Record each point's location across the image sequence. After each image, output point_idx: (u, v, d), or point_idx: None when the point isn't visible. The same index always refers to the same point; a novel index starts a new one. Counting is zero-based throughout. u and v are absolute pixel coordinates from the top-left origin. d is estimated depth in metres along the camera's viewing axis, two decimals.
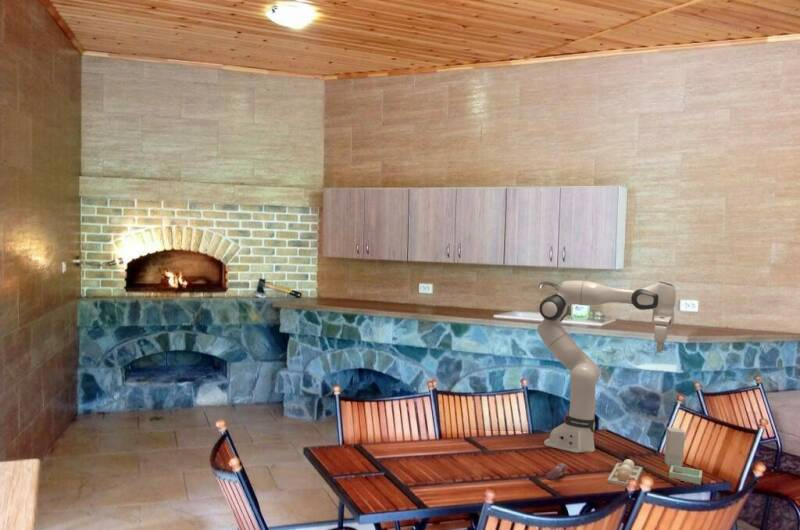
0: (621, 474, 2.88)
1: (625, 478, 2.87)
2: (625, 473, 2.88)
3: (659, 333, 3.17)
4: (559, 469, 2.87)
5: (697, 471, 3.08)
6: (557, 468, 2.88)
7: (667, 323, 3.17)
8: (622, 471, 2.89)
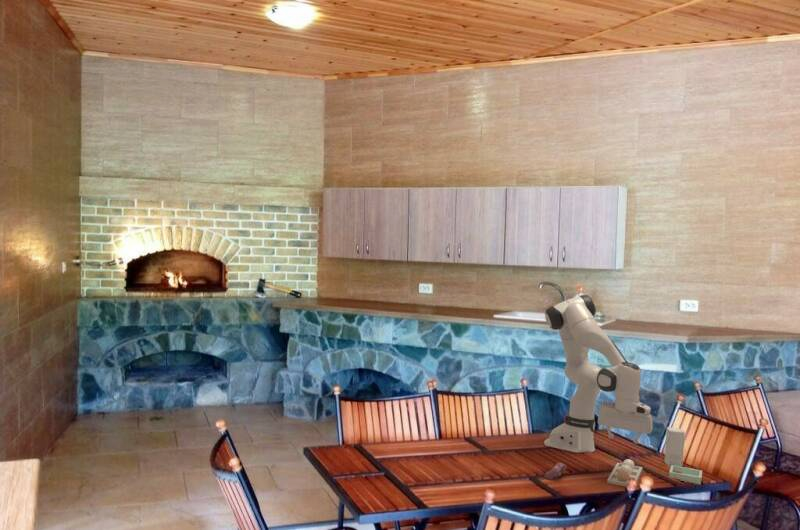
0: (621, 474, 2.88)
1: (625, 478, 2.87)
2: (625, 473, 2.88)
3: (651, 423, 2.85)
4: (558, 469, 2.87)
5: (697, 471, 3.08)
6: (556, 468, 2.88)
7: None
8: (622, 471, 2.89)
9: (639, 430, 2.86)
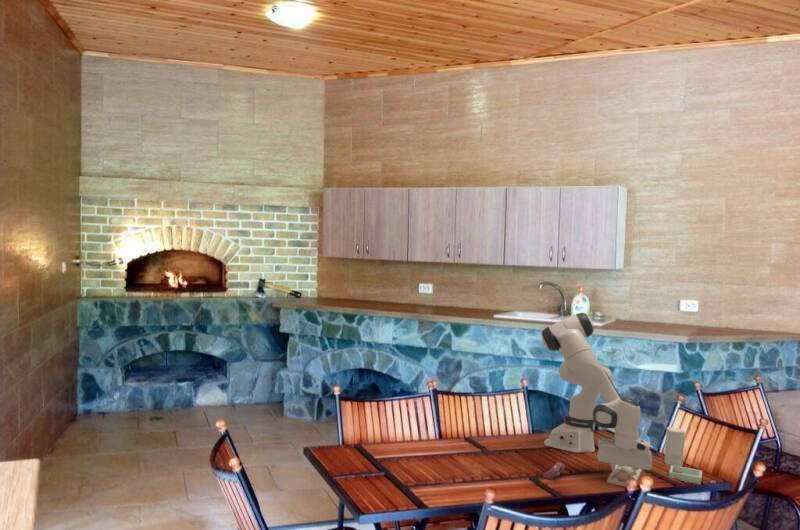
0: (621, 474, 2.88)
1: (625, 478, 2.87)
2: (625, 473, 2.88)
3: (651, 459, 2.85)
4: (556, 468, 2.88)
5: (697, 471, 3.08)
6: (554, 467, 2.88)
7: None
8: (622, 471, 2.89)
9: (639, 467, 2.85)
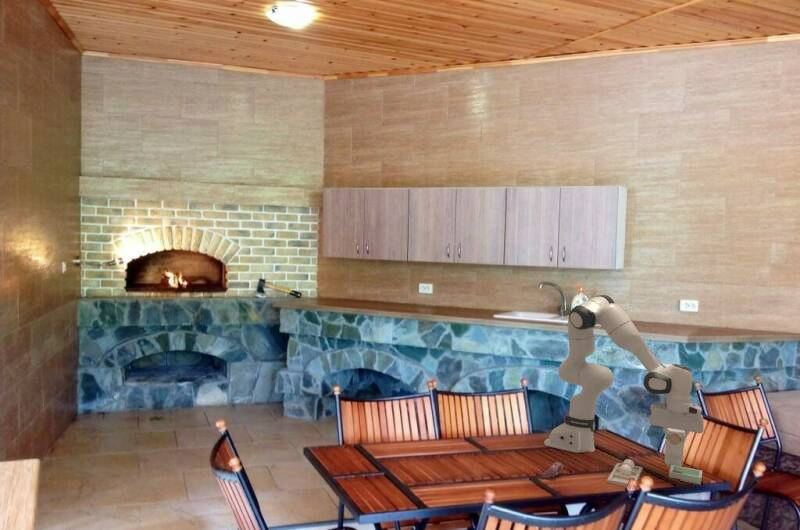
0: (673, 437, 2.99)
1: (678, 441, 2.98)
2: (677, 436, 2.99)
3: (703, 423, 2.96)
4: (555, 468, 2.88)
5: (697, 471, 3.08)
6: (553, 467, 2.88)
7: None
8: (674, 434, 3.00)
9: (691, 430, 2.96)
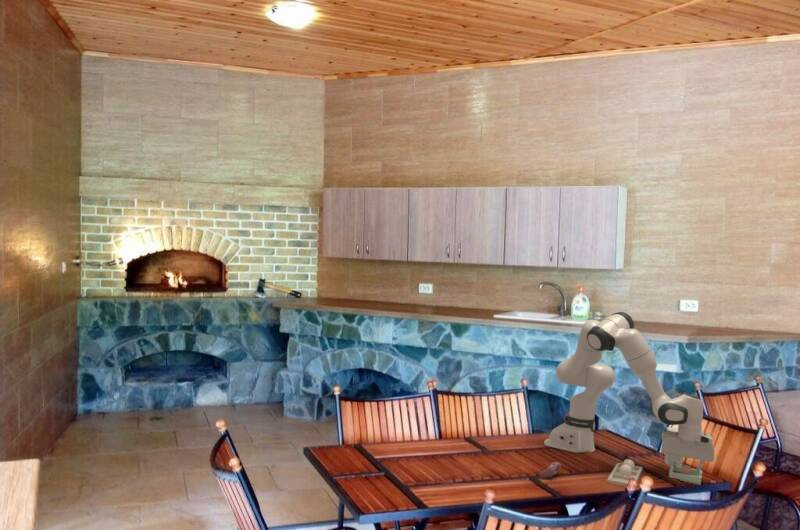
0: (685, 469, 3.03)
1: (689, 474, 3.02)
2: (689, 469, 3.03)
3: None
4: (553, 468, 2.88)
5: (697, 471, 3.08)
6: (551, 467, 2.89)
7: None
8: (686, 466, 3.04)
9: (702, 458, 3.01)
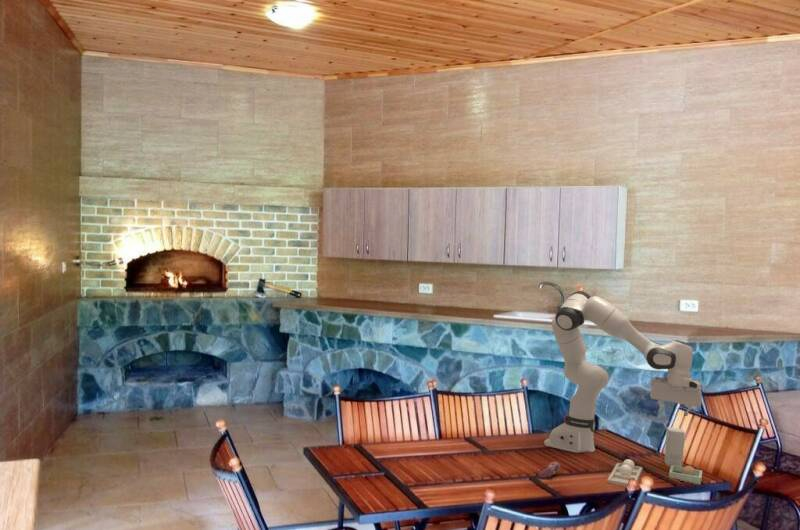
0: (689, 470, 3.02)
1: None
2: (692, 470, 3.02)
3: None
4: (552, 468, 2.88)
5: (697, 471, 3.08)
6: (550, 467, 2.89)
7: None
8: (691, 467, 3.03)
9: (690, 403, 3.07)
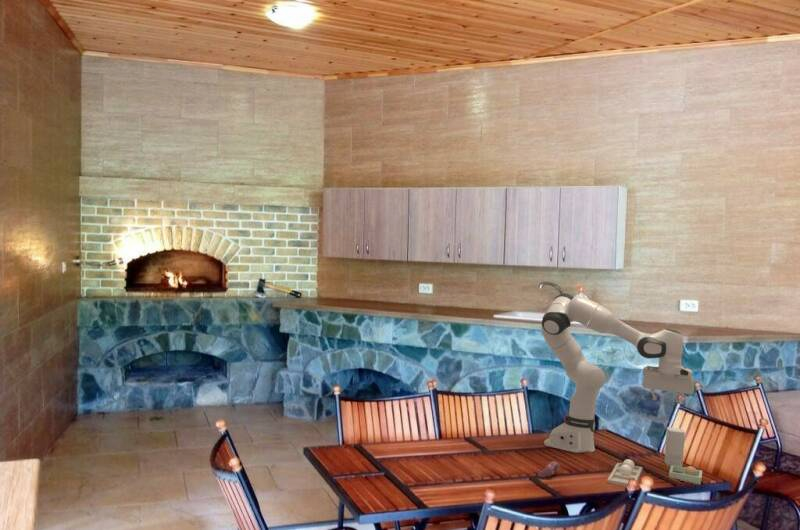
0: (692, 470, 3.02)
1: None
2: (695, 472, 3.02)
3: None
4: (551, 467, 2.89)
5: (697, 471, 3.08)
6: (549, 466, 2.89)
7: None
8: (694, 469, 3.03)
9: (682, 391, 3.08)
